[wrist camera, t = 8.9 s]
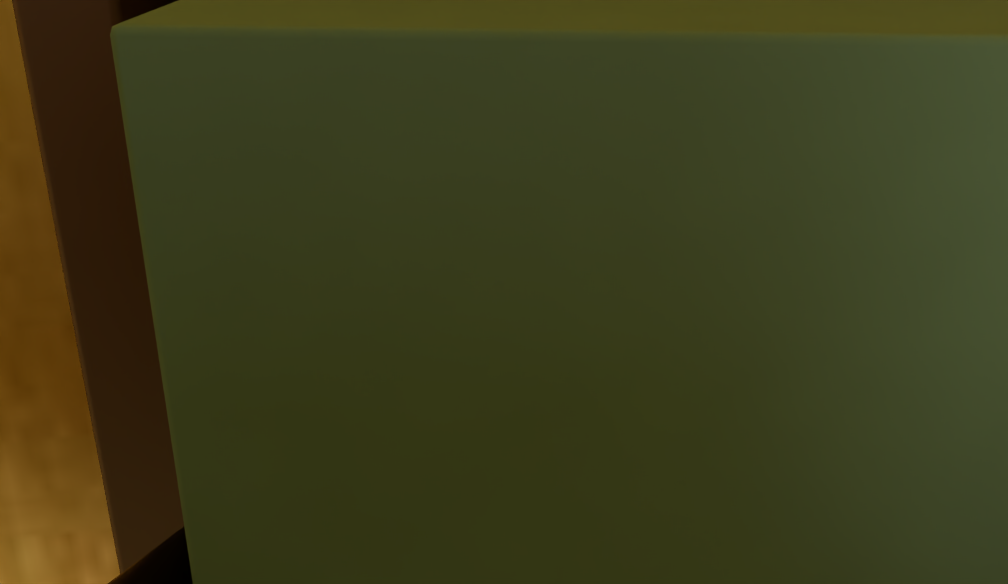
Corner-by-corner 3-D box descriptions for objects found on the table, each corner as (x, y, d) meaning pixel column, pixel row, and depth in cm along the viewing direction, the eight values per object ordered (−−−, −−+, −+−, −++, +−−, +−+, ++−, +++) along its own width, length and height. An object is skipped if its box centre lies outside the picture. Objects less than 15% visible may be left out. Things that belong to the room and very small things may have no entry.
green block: (772, 782, 11) (883, 1155, 8) (342, 780, 11) (276, 1152, 8) (917, -32, 7) (1233, 37, 4) (276, -40, 7) (103, 23, 4)
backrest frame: (1079, -260, 8) (1276, -304, 6) (849, 771, 13) (915, 940, 11) (87, -274, 8) (-56, -325, 6) (235, 769, 13) (186, 938, 11)
